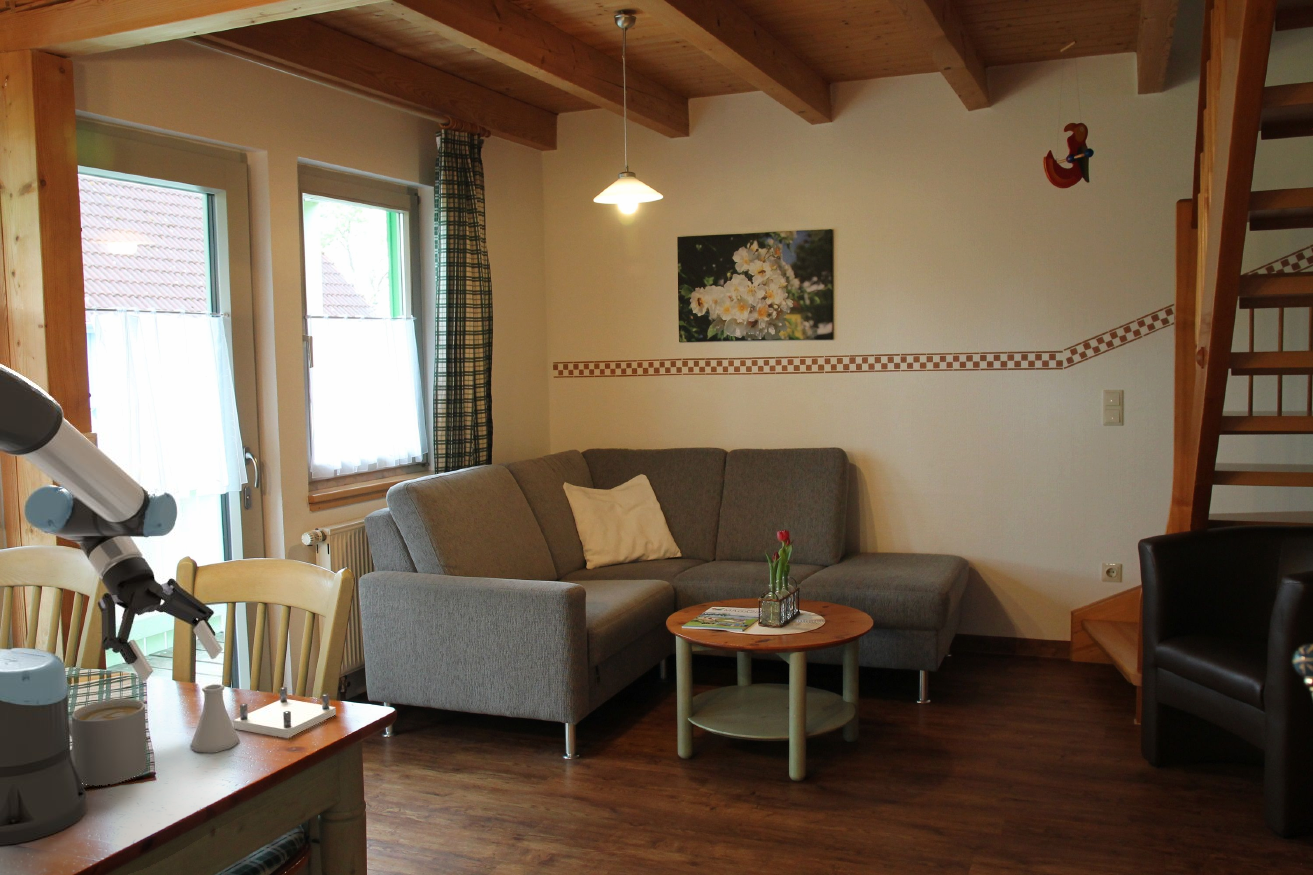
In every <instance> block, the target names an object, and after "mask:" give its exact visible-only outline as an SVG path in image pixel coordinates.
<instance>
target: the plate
mask: <svg viewBox="0 0 1313 875" xmlns="http://www.w3.org/2000/svg"><path fill="white" fill-rule="evenodd" d="M285 711H291V727H289V728H284V720H283V712H285ZM334 715H337V708H336V706H331V705H329V709H327V710H323V709H322V704H318V703H312V702H305V701H300V700H294V699H288V698H287V702H284V703H281V702H280V699H279V700H277V701H274V702H272V703H270V704H267V705H266V706H263V707H260V708H258V709H256V710H254V711H252V712H248V719H246V720H240V717H237V718H236V719H233V727H234V729H235V730H240V731H244V732H250V733H257V734H262V735H267V736H273V737H277V736H278V738H282V737H283V739H290V738H292V737H291V736H293V735H295V734H297V733H299V732H301V731H303V730H305V729H306V728H308V727H311V726H312V725H314V724H317V723H319V722H320V721H322V720H325V719H327V718H329V717H332V716H334ZM334 717H335V716H334ZM332 718H333V717H332ZM325 721H326V720H325ZM319 724H320V723H319ZM317 725H318V724H317ZM311 728H312V727H311ZM305 731H306V730H305ZM303 732H304V731H303ZM301 733H302V732H301ZM299 734H300V733H299ZM297 735H298V734H297ZM295 736H296V735H295ZM289 737H290V738H289ZM293 737H294V736H293Z"/></svg>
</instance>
